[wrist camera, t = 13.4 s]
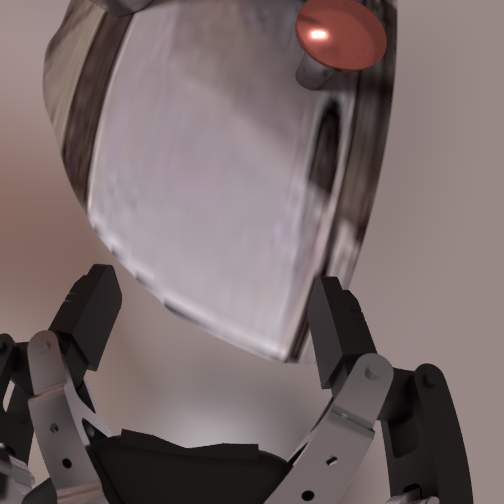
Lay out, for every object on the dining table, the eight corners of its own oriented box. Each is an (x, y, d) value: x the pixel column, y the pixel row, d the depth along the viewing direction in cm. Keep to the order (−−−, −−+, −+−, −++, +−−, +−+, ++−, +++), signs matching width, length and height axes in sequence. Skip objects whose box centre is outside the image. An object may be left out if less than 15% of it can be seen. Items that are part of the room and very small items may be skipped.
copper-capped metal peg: (336, 104, 27) (388, 77, 14) (281, 98, 27) (296, 59, 14) (335, 11, 22) (371, -48, 9) (284, 4, 22) (295, -64, 9)
